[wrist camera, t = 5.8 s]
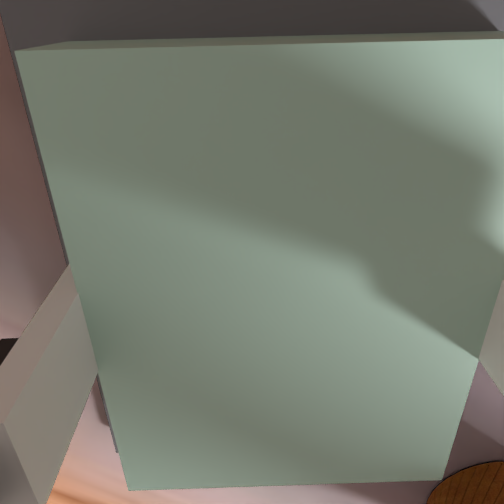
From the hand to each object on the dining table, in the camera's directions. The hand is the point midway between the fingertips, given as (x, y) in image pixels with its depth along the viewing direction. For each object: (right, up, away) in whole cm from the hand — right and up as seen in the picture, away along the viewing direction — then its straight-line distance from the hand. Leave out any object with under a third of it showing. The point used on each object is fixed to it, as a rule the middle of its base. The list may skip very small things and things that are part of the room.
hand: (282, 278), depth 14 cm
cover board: (0, 0, 0) cm, 1 cm away
